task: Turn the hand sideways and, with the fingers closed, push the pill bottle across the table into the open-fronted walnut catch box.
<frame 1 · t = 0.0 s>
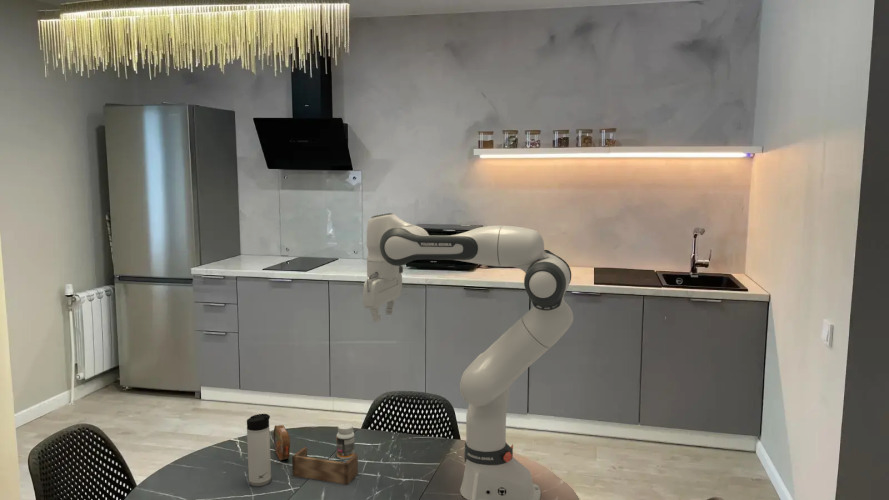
hand: (383, 317, 183), 48 cm above the table, tool pointing down, fingers open, 8 cm apart
travel mug: (260, 482, 186), on the table
catch box: (326, 474, 190), on the table
pill bottle: (345, 456, 203), on the table
tin: (282, 455, 204), on the table
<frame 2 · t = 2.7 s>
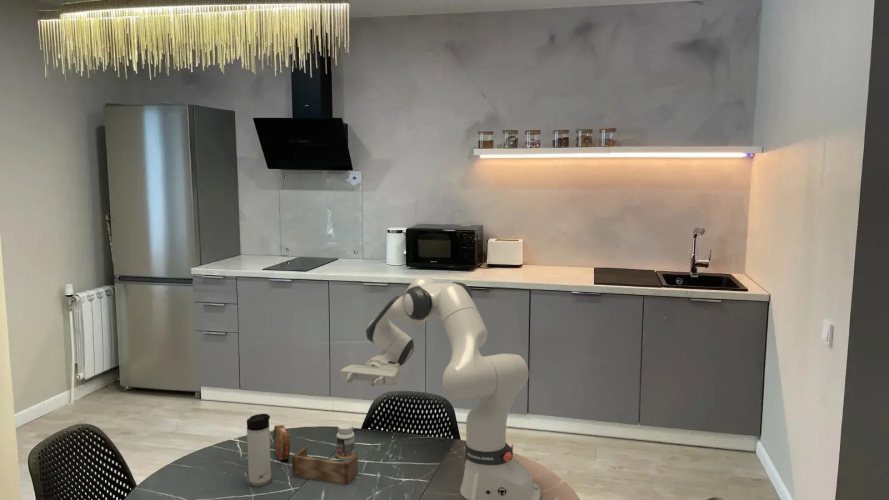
hand: (360, 382, 212), 20 cm above the table, tool horizontal, fingers open, 8 cm apart
nothing on the table moved.
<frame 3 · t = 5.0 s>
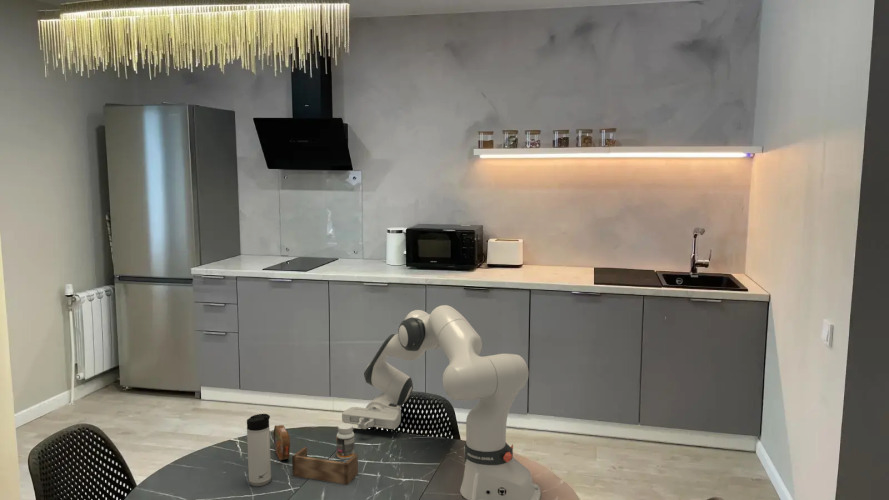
hand: (361, 426, 213), 5 cm above the table, tool horizontal, fingers closed
nothing on the table moved.
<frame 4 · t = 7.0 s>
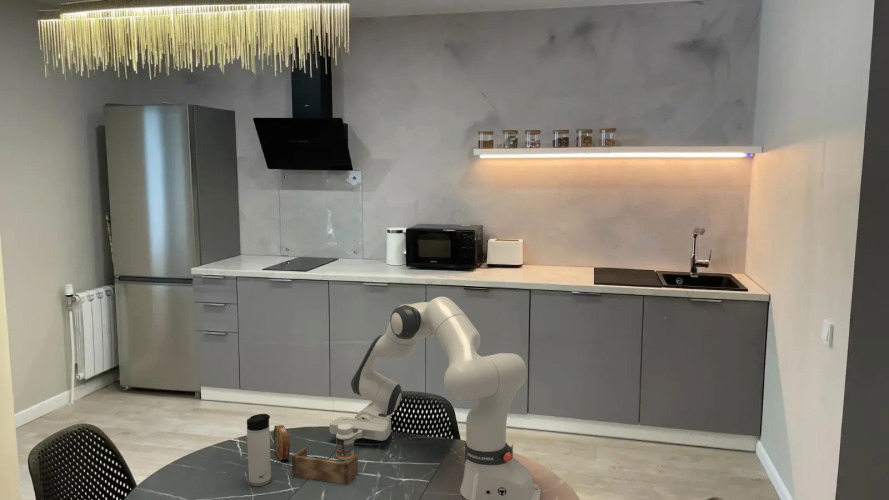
hand: (349, 437, 204), 5 cm above the table, tool horizontal, fingers closed, pressing on pill bottle
pill bottle: (345, 456, 202), on the table, touching gripper
everything else where it was.
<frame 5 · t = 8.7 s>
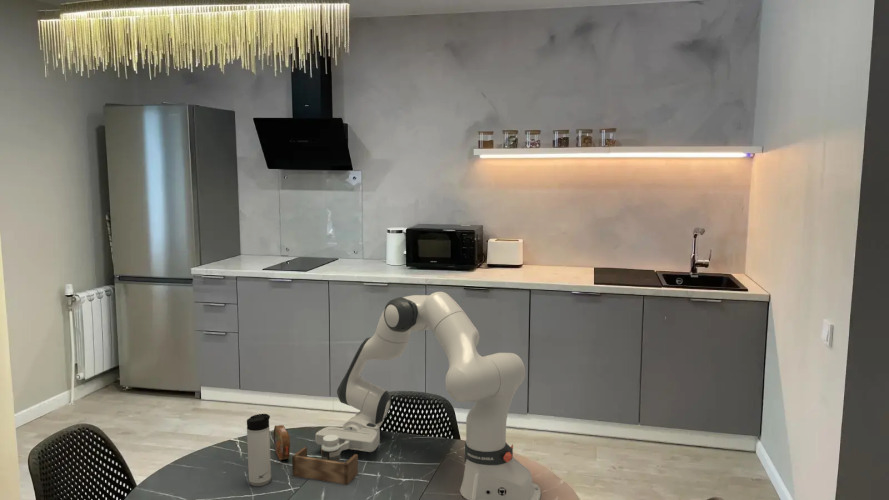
hand: (335, 449, 196), 5 cm above the table, tool horizontal, fingers closed, pressing on pill bottle
pill bottle: (331, 469, 194), on the table, touching gripper
everything else where it was.
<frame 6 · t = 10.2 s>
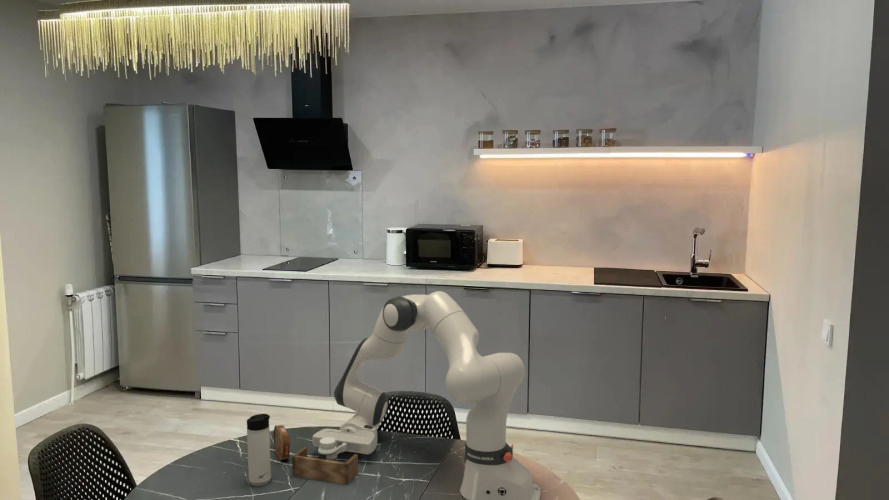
hand: (332, 451, 194), 5 cm above the table, tool horizontal, fingers closed
pill bottle: (328, 472, 192), on the table
everything else where it was.
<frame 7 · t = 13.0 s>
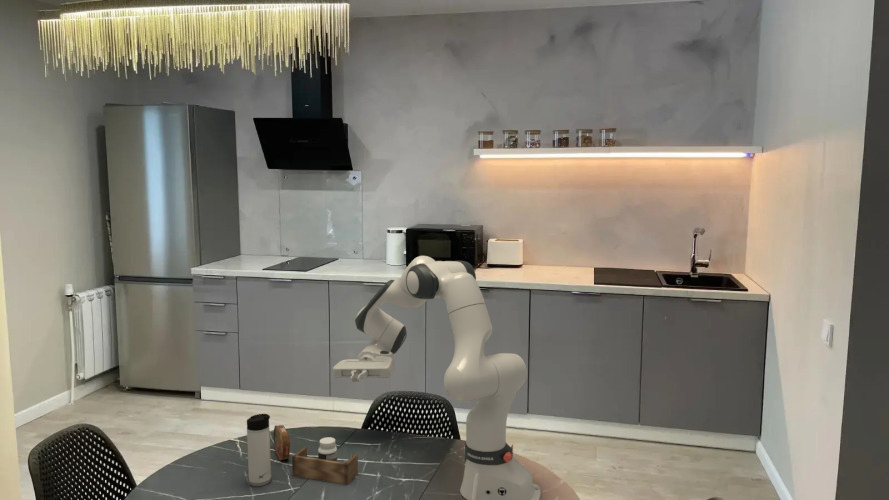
hand: (354, 379, 203), 24 cm above the table, tool horizontal, fingers closed
nothing on the table moved.
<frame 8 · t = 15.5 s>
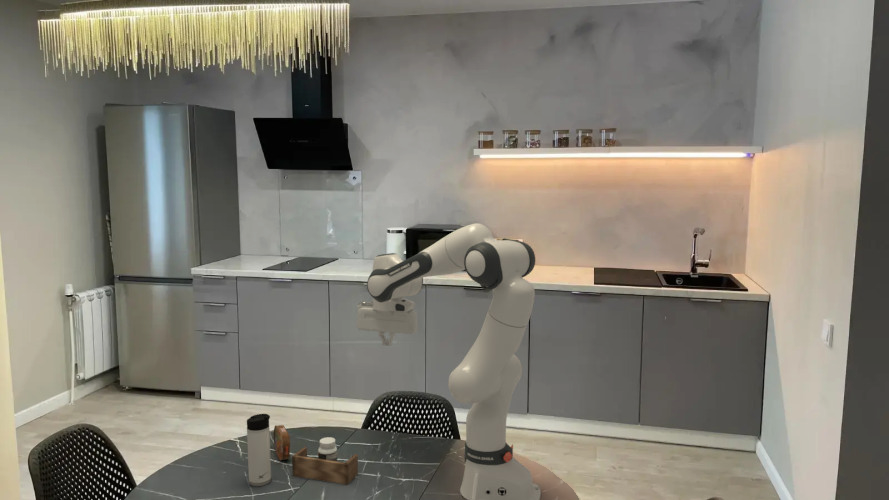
hand: (387, 345, 206), 34 cm above the table, tool pointing down, fingers closed
nothing on the table moved.
at the end: pill bottle inside the target area on the catch box (0.8 cm from its centre), point 0.0 cm above the catch box's base; pill bottle tilted 0° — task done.
